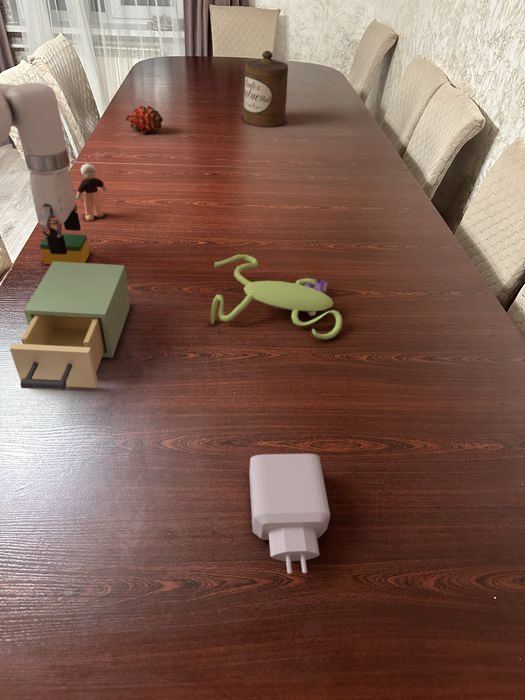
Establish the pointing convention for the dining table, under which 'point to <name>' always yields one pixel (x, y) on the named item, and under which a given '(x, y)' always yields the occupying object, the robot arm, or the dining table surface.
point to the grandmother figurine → (90, 192)
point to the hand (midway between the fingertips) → (66, 241)
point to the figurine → (280, 296)
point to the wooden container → (265, 91)
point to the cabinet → (84, 296)
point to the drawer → (59, 352)
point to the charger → (289, 505)
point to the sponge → (75, 250)
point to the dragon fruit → (145, 119)
